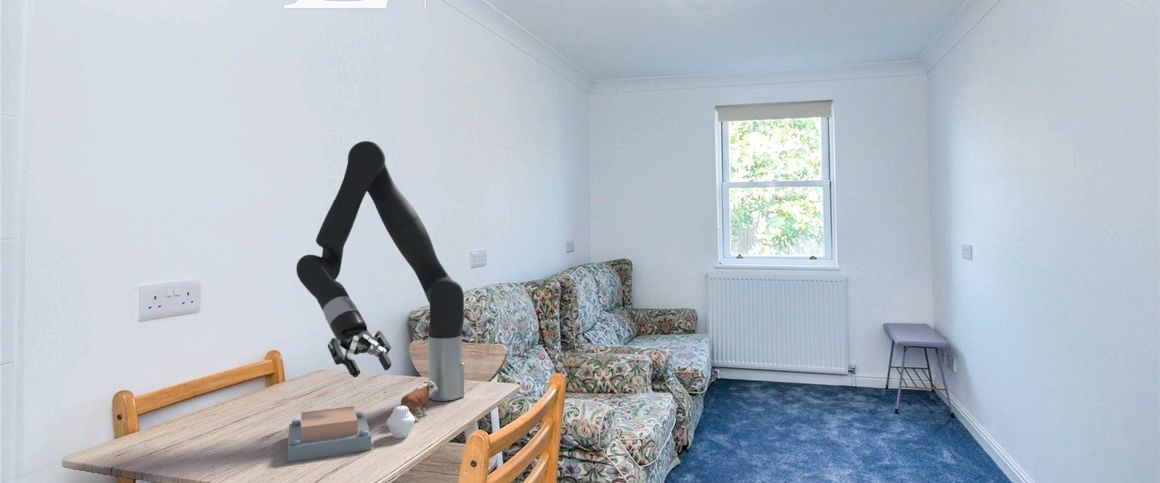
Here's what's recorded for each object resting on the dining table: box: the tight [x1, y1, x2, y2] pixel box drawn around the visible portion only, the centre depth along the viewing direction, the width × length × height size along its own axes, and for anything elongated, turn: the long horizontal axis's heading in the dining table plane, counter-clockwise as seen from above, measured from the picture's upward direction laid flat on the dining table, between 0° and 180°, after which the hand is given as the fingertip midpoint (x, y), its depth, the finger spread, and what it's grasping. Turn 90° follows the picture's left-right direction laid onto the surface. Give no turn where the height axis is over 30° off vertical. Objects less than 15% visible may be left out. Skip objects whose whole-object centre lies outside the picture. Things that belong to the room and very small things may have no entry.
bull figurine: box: [400, 380, 438, 422], centre depth 147 cm, size 4×13×8 cm, turn 161°
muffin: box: [386, 405, 416, 439], centre depth 134 cm, size 6×6×7 cm
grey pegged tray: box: [287, 405, 372, 463], centre depth 129 cm, size 16×16×6 cm
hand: (373, 371), depth 139 cm, fingers open, 8 cm apart
